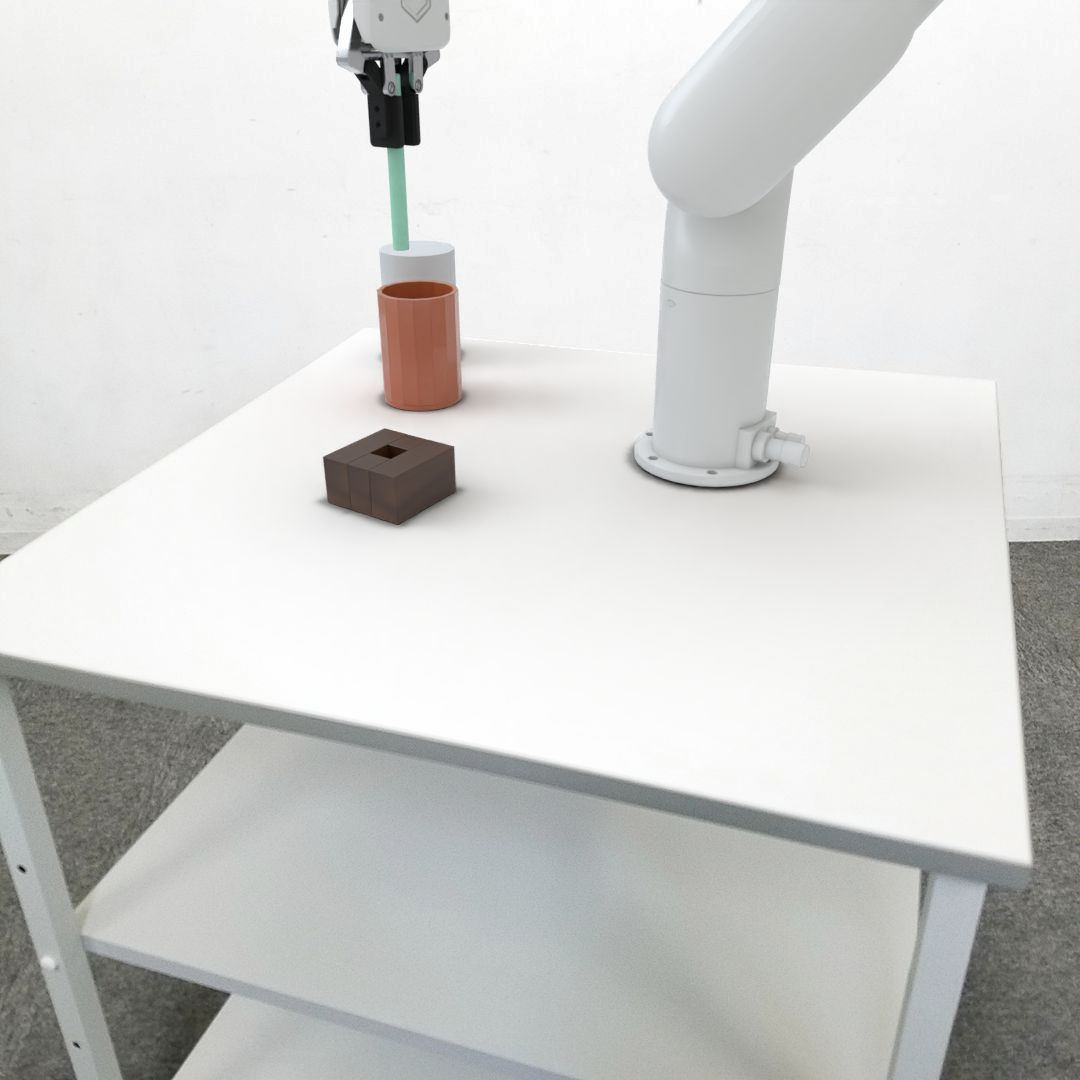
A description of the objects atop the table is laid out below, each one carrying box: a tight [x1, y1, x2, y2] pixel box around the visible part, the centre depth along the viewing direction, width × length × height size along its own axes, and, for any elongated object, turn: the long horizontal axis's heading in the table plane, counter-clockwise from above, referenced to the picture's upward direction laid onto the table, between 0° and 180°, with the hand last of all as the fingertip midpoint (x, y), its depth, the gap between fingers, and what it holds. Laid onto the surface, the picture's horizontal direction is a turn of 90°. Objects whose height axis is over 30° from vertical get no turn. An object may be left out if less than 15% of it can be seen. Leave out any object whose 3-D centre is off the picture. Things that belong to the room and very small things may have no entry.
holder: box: [322, 427, 457, 525], centre depth 83 cm, size 7×7×4 cm
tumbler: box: [376, 280, 463, 412], centre depth 103 cm, size 8×8×11 cm
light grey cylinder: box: [378, 240, 457, 287], centre depth 115 cm, size 8×8×12 cm
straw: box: [386, 73, 410, 251], centre depth 87 cm, size 1×1×14 cm
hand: (395, 144), depth 86 cm, fingers closed on straw, 1 cm apart
